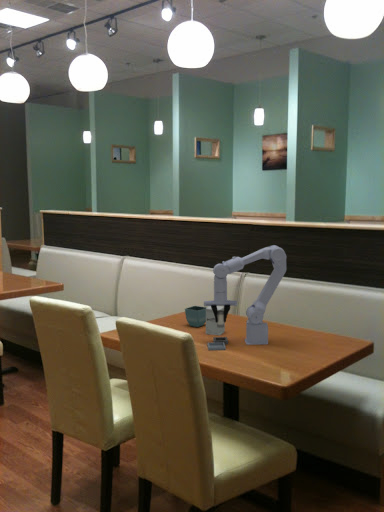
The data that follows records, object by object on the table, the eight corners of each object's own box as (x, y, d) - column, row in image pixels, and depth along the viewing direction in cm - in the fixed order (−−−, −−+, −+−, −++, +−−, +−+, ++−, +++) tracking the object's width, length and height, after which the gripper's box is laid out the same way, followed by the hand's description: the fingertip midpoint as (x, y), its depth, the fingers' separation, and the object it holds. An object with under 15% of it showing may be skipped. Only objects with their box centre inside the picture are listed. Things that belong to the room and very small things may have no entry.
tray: (224, 345, 231) (224, 342, 231) (225, 350, 224) (225, 347, 223) (207, 346, 230) (207, 342, 230) (208, 351, 223) (208, 347, 223)
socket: (226, 341, 238) (226, 336, 237) (228, 345, 232) (228, 340, 231) (213, 341, 237) (213, 337, 237) (214, 345, 231) (214, 341, 231)
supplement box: (205, 334, 248) (205, 308, 247) (210, 330, 255) (210, 305, 254) (220, 336, 246) (220, 309, 244) (225, 332, 252) (225, 306, 251)
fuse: (223, 325, 235) (223, 310, 234) (224, 327, 232) (224, 311, 231) (216, 325, 235) (216, 310, 234) (217, 327, 232) (217, 311, 231)
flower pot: (194, 322, 271) (194, 305, 270) (209, 325, 266) (209, 307, 265) (184, 326, 264) (184, 308, 263) (198, 328, 259) (198, 310, 258)
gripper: (235, 289, 236) (236, 319, 238) (203, 290, 235) (203, 320, 237) (237, 292, 229) (238, 323, 231) (204, 293, 228) (204, 324, 230)
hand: (220, 321), depth 233 cm, fingers closed on fuse, 3 cm apart
